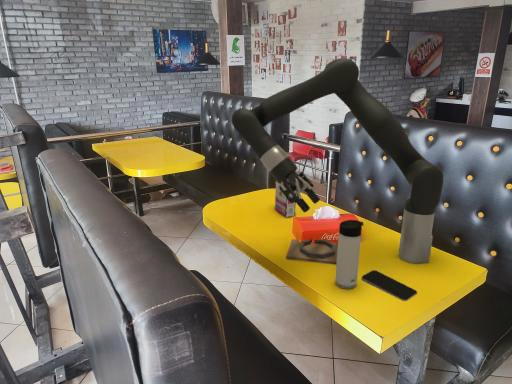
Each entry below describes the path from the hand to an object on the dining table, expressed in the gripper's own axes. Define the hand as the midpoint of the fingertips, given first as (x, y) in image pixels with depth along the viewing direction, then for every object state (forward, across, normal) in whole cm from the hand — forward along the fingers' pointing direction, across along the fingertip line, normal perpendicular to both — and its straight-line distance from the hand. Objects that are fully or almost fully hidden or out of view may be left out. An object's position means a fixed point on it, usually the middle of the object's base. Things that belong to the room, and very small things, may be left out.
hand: (312, 206), depth 109 cm
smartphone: (+33, +5, 0) cm, 33 cm away
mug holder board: (+14, +15, +18) cm, 27 cm away
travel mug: (+25, 0, +8) cm, 26 cm away
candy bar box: (-4, +44, +36) cm, 57 cm away
